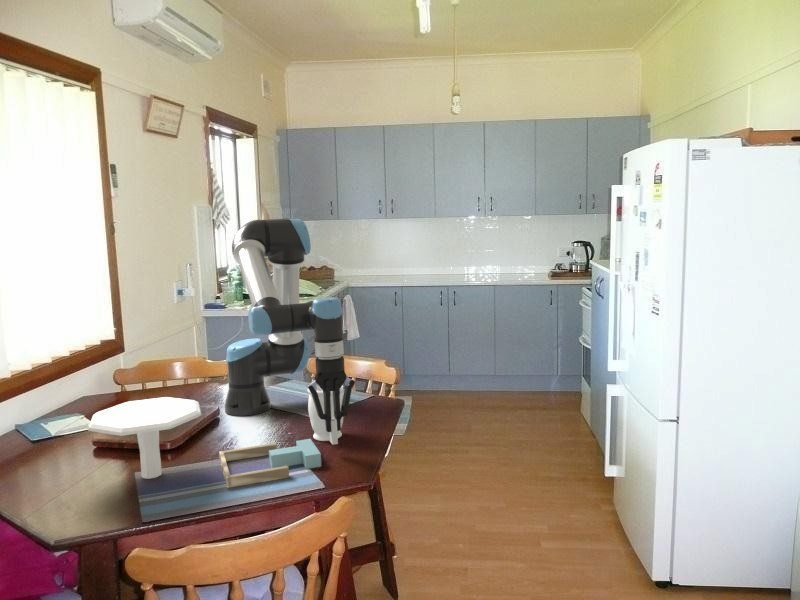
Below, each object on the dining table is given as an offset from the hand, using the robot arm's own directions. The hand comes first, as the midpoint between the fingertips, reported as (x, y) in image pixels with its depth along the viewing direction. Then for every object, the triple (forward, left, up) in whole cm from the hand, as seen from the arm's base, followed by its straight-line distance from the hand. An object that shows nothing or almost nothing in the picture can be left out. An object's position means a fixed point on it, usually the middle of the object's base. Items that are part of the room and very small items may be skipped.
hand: (333, 442), depth 171 cm
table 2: (-7, -46, -4) cm, 47 cm away
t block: (0, -11, -4) cm, 12 cm away
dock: (0, -21, -4) cm, 21 cm away
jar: (-15, +2, -4) cm, 16 cm away
